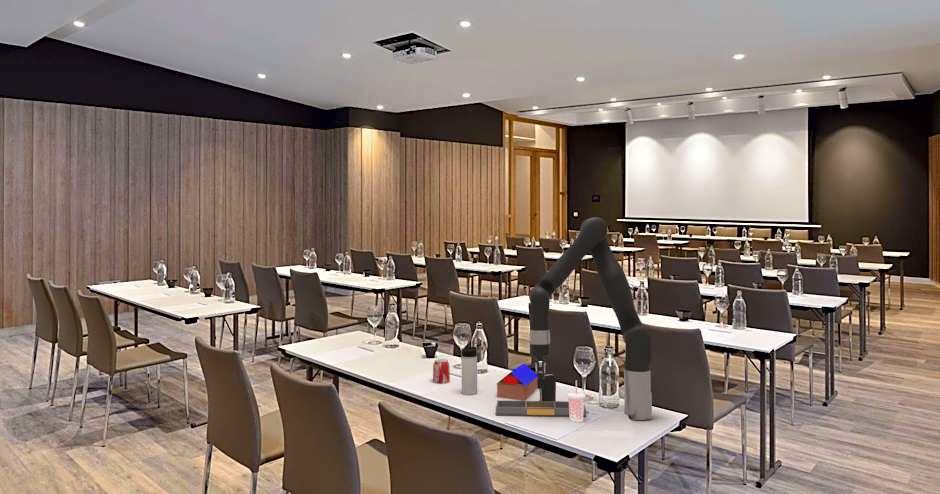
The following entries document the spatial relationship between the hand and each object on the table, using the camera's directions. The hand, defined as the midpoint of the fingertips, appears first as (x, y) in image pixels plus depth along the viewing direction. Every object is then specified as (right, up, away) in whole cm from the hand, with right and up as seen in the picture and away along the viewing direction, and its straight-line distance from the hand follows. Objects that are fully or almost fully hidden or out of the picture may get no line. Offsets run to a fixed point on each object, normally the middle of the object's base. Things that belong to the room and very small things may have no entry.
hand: (540, 386), depth 238 cm
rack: (0, -10, 0) cm, 10 cm away
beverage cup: (+11, -10, -10) cm, 18 cm away
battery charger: (+4, -10, +13) cm, 16 cm away
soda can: (-38, -10, +40) cm, 56 cm away
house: (-6, -10, +27) cm, 29 cm away
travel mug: (-26, -10, +24) cm, 37 cm away
